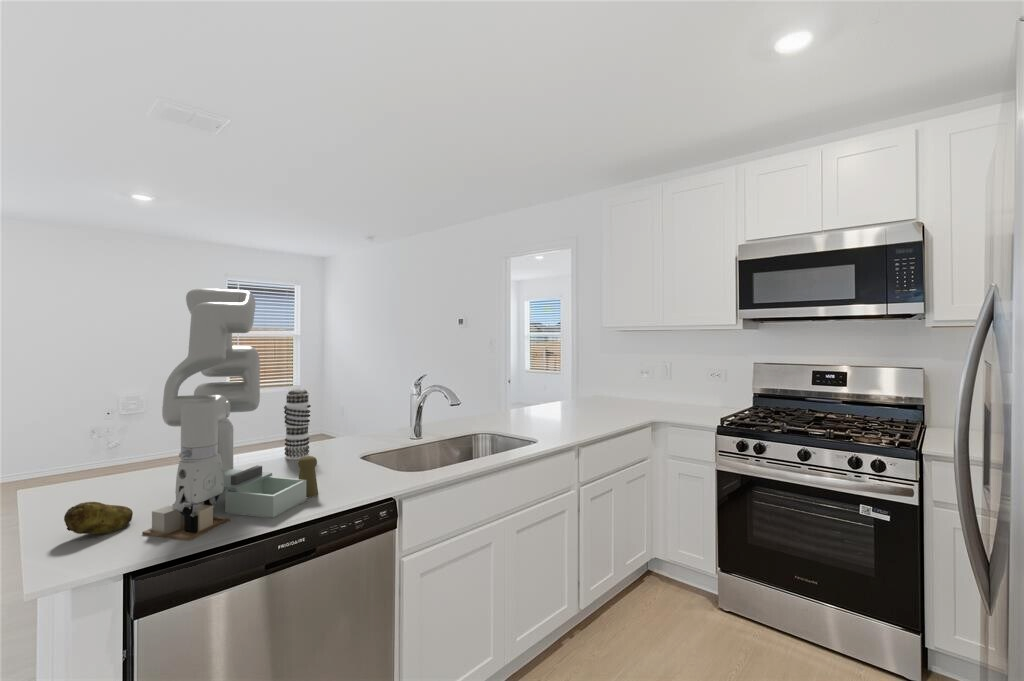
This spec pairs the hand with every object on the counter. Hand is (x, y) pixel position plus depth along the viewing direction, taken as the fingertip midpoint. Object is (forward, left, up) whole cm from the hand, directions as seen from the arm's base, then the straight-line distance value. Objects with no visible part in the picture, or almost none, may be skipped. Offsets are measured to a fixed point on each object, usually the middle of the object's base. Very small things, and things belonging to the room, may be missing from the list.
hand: (199, 527), depth 120 cm
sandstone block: (0, 0, 0) cm, 0 cm away
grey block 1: (-6, -3, 0) cm, 7 cm away
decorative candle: (-19, +65, -1) cm, 68 cm away
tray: (-3, 0, -1) cm, 3 cm away
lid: (-5, +17, +6) cm, 19 cm away
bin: (+5, +17, -1) cm, 18 cm away
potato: (-20, -7, -1) cm, 21 cm away
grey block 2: (-6, +3, 0) cm, 7 cm away
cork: (+9, +29, -1) cm, 31 cm away
